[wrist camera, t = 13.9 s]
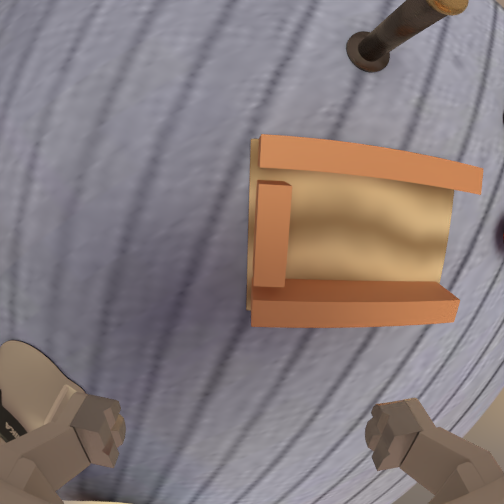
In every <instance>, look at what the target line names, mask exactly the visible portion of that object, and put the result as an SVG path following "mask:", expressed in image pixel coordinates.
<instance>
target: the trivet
mask: <svg viewBox="0 0 504 504" xmlns="http://www.w3.org/2000/svg"><path fill="white" fill-rule="evenodd" d="M258 148H259V139H251V154H250V189H249V224H248V262H247V301H246V310H251V286H252V277H253V247H254V227H255V207H256V188H257V180H273V181H285V182H287V183H288V184H290V185H291V186H292V198H291V212H290V226H289V239H288V251H287V263H286V275H285V279H312V280H353V281H432V282H437V283H440V278H441V274H442V269H443V264H444V258H445V253H446V247H447V241H448V235H449V228H450V221H451V213H452V205H453V196H454V189H448V188H442V187H437V186H431V185H424V184H418V183H411V182H405V181H398V180H390V179H383V178H375V177H367V176H358V175H349V174H339V173H329V172H318V171H306V170H293V169H278V168H261V167H258Z"/></svg>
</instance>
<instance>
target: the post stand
mask: <svg viewBox="0 0 504 504" xmlns="http://www.w3.org/2000/svg"><path fill="white" fill-rule="evenodd" d="M467 6H468V0H406V1H405V2H404V3H403V4H402V5H400V6H399V7H398V8H397V9H396V10H395V11H394V12H393V13H391V14H390V15H389V16H388V17H387V18H386V19H385V20H384V21H383V22H381V23H380V24H379V25H378V26H377V27H376V28H375V29H374V30H373V31H372V32H371V33H370V32H364V31H363V32H357V33H355V34H354V35H352V36H351V37H350V39H349V40H348V42H347V46H346V50H347V54H348V57H349V59H350V60H351V61H352V63H353V64H354V65H355V66H357V67H358V68H359V69H361V70H363V71H367V72H377V71H380V70H382V69H383V68H385V67H386V66H387V64H388V62H389V58H390V54H389V52H390V51H392V50H393V49H395V48H396V47H398V46H399V45H401V44H402V43H404V42H405V41H407V40H408V39H410V38H412V37H413V36H415V35H416V34H418V33H419V32H421V31H423V30H424V29H426V28H427V27H429V26H431V25H432V24H434V23H435V22H437V21H439V20H440V19H442V18H444V17H445V16H447V15H458V14H460V13H462V12H463V11H464V10H465V9H466V8H467Z"/></svg>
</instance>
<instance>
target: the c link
mask: <svg viewBox="0 0 504 504" xmlns="http://www.w3.org/2000/svg"><path fill="white" fill-rule="evenodd" d="M258 167H261V168H278V169H293V170H306V171H318V172H329V173H339V174H349V175H358V176H367V177H375V178H383V179H390V180H398V181H405V182H411V183H418V184H424V185H431V186H437V187H442V188H448V189H454V190H459V191H464V192H470V193H475V194H480V195H481V188H482V178H483V168H479V167H475V166H471V165H467V164H463V163H459V162H455V161H450V160H446V159H441V158H437V157H432V156H427V155H422V154H417V153H412V152H407V151H401V150H396V149H390V148H384V147H378V146H371V145H364V144H357V143H350V142H342V141H334V140H325V139H315V138H305V137H293V136H280V135H265V134H261V136H260V138H259V148H258ZM291 198H292V186H291V185H290V184H288V183H287V182H285V181H273V180H257V188H256V207H255V227H254V247H253V277H252V286H251V327H288V328H343V327H381V326H404V325H421V324H436V323H449V322H454V320H455V316H456V313H457V310H458V306H459V303H460V300H459V299H458V298H457V297H456V296H454V295H453V294H452V293H450V292H449V291H448V290H446V289H445V288H444V287H443V286H441V285H440V284H439V283H437V282H432V281H353V280H312V279H285V275H286V263H287V251H288V239H289V226H290V212H291Z"/></svg>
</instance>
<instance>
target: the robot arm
mask: <svg viewBox="0 0 504 504" xmlns="http://www.w3.org/2000/svg"><path fill="white" fill-rule="evenodd" d="M120 410H121V407H120V404H119V401H117V400H114V399H109V398H104V397H99V396H95V395H90V394H85V392H84V391H83V390H82V389H81V388H80V387H79V386H78V385H76V384H75V383H73V382H72V381H70V380H69V379H67V378H66V377H65V376H64V375H63V374H62V373H61V371H60V370H59V369H58V368H57V367H56V366H55V365H54V364H53V363H52V362H51V361H50V360H49V359H48V358H47V357H46V356H45V355H43V354H42V353H41V352H39V351H38V350H36V349H35V348H33V347H32V346H30V345H28V344H25V343H23V342H20V341H7V342H5V343H4V344H3V345H2V346H1V347H0V504H64V503H63V501H62V500H61V498H60V497H59V496H58V494H57V493H56V492H55V491H56V490H58V489H59V488H60V487H62V486H63V485H64V484H66V483H67V482H68V481H70V480H71V479H72V478H74V477H75V476H76V475H78V474H79V473H80V472H81V471H83V470H84V469H85V468H87V467H88V466H89V465H90V463H92V464H97V465H101V466H106V467H111V468H114V467H115V464H116V461H117V458H118V456H119V452H118V449H117V447H119V446H120V445H122V444H123V442H124V439H125V433H126V425H125V420H124V418H123V417H122V416H121V415H120V414H119V412H120ZM371 414H372V416H373V418H371V419H370V420H369V421H368V422H367V425H366V428H365V440H366V444H367V446H368V448H370V449H371V450H373V451H374V452H373V455H372V459H373V462H374V464H375V467H376V469H377V471H380V470H386V469H391V468H396V467H400V469H402V470H403V471H404V472H405V473H407V474H408V475H409V476H411V477H412V478H413V479H414V480H416V481H417V482H418V483H419V484H421V485H422V486H424V487H425V488H426V489H427V490H429V491H430V492H431V493H433V494H434V495H435V496H434V497H433V498H432V499H431V500H430V502H429V503H428V504H504V472H503V471H502V469H501V468H500V466H499V465H498V463H497V462H496V460H495V459H494V457H493V456H492V454H491V453H490V452H489V451H487V450H485V449H483V448H481V447H479V446H477V445H475V444H473V443H471V442H469V441H466V440H465V439H463V438H461V437H459V436H457V435H455V434H453V433H451V432H449V431H447V430H445V429H443V428H441V427H437V428H436V427H435V425H434V423H433V422H432V420H431V419H430V417H429V416H428V414H427V412H426V411H425V409H424V408H423V406H422V405H421V403H420V402H419V400H418V399H417V398H410V399H405V400H399V401H393V402H387V403H381V404H375V406H374V407H373V409H372V411H371Z"/></svg>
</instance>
